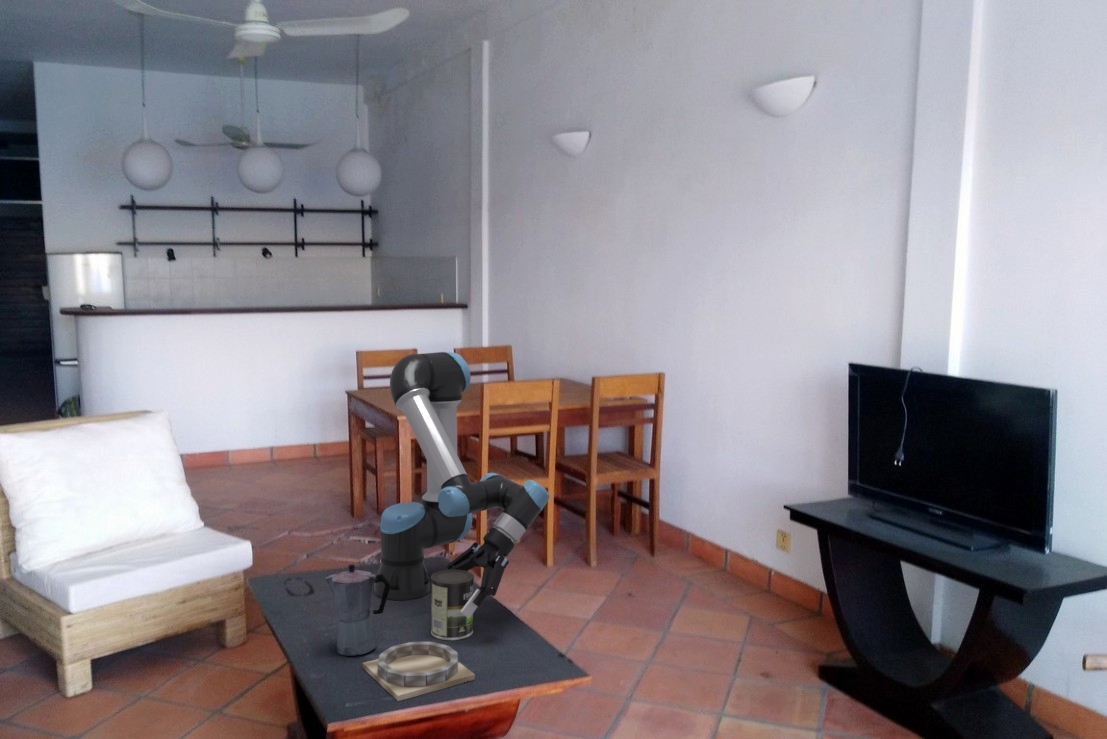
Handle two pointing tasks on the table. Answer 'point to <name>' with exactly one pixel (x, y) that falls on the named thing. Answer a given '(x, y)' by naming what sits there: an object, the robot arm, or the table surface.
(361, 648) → the moka pot
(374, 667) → the ring board
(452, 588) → the coffee can
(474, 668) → the table surface
